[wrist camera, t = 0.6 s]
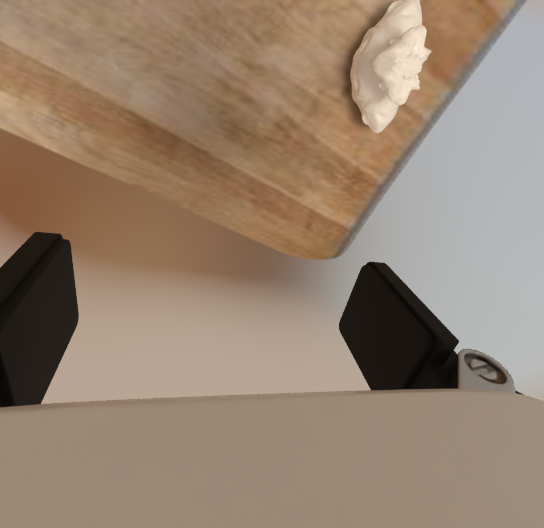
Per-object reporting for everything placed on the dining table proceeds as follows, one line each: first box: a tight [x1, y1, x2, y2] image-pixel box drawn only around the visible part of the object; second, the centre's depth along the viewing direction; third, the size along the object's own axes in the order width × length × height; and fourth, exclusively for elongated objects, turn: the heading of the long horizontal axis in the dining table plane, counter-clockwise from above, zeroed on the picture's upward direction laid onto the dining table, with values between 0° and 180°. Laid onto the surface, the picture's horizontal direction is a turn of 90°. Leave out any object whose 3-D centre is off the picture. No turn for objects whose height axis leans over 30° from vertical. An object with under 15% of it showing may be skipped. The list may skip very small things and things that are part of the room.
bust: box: [350, 0, 431, 133], centre depth 31 cm, size 12×8×11 cm
